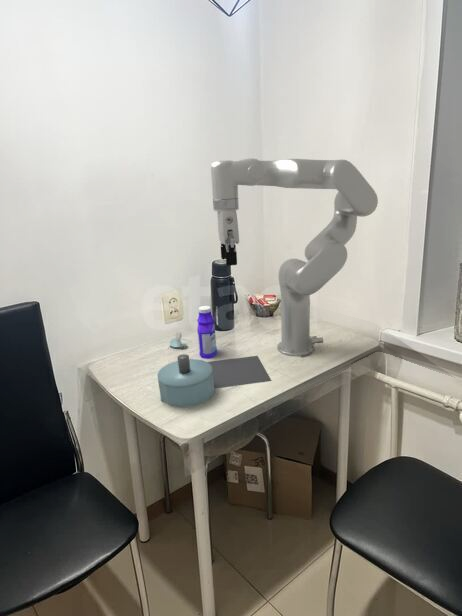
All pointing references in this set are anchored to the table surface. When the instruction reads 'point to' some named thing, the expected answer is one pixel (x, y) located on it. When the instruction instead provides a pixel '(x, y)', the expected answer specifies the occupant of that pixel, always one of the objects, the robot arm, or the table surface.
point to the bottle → (206, 333)
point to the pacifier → (176, 342)
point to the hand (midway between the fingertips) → (228, 261)
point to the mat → (238, 372)
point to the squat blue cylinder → (186, 382)
